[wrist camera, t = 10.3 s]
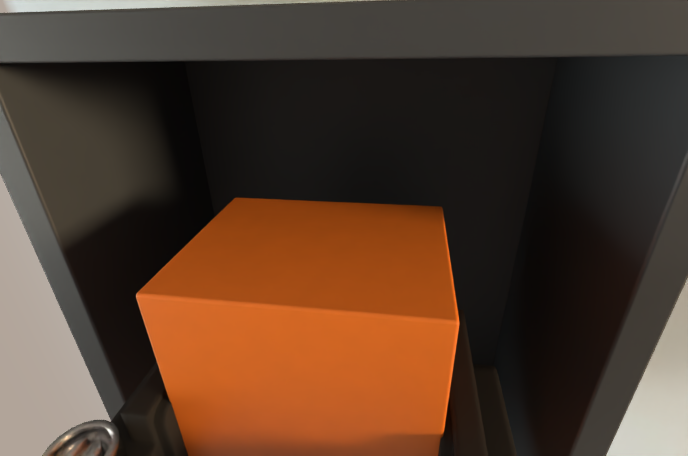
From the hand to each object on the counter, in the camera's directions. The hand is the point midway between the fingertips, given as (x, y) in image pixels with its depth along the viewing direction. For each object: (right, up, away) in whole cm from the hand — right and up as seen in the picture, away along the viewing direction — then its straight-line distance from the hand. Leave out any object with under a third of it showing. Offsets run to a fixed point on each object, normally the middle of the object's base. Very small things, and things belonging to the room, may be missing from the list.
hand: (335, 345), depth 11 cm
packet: (0, 0, +1) cm, 1 cm away
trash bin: (+1, +3, +6) cm, 7 cm away
